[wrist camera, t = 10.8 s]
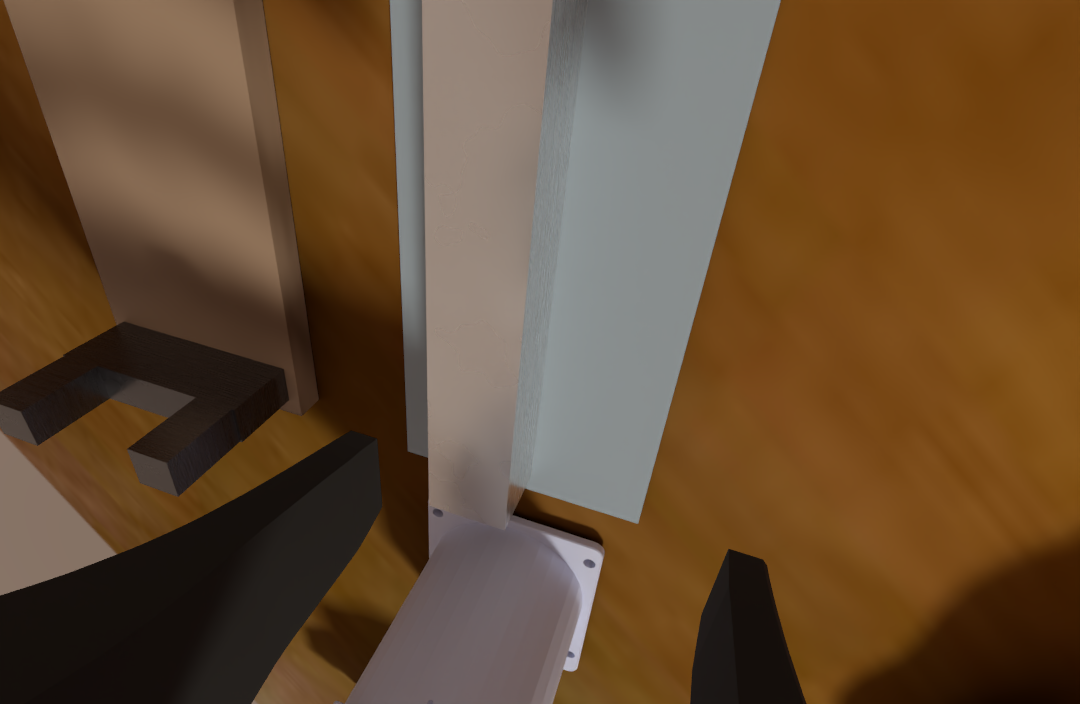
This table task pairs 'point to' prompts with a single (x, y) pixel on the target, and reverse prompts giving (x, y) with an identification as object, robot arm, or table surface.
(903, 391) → the table surface
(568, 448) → the mat
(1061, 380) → the table surface
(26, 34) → the rack
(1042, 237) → the table surface
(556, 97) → the rail
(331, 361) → the table surface
